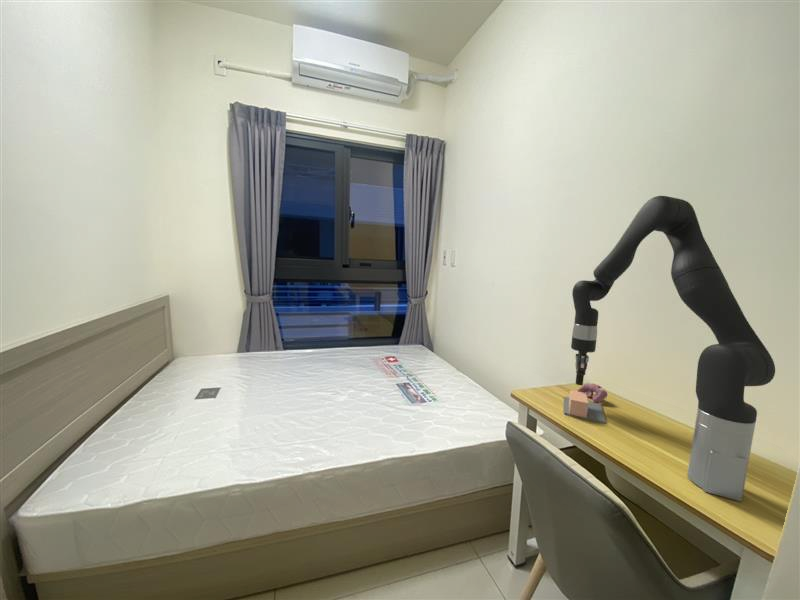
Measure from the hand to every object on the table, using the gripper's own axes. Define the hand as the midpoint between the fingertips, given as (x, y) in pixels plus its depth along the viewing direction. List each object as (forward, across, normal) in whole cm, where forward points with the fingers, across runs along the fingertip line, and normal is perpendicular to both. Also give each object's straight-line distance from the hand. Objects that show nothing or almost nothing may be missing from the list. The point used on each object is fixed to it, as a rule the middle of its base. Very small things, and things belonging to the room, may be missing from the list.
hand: (579, 384), depth 115 cm
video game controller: (+8, +10, -5) cm, 14 cm away
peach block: (+5, -1, 0) cm, 5 cm away
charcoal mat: (+8, -3, -2) cm, 9 cm away
